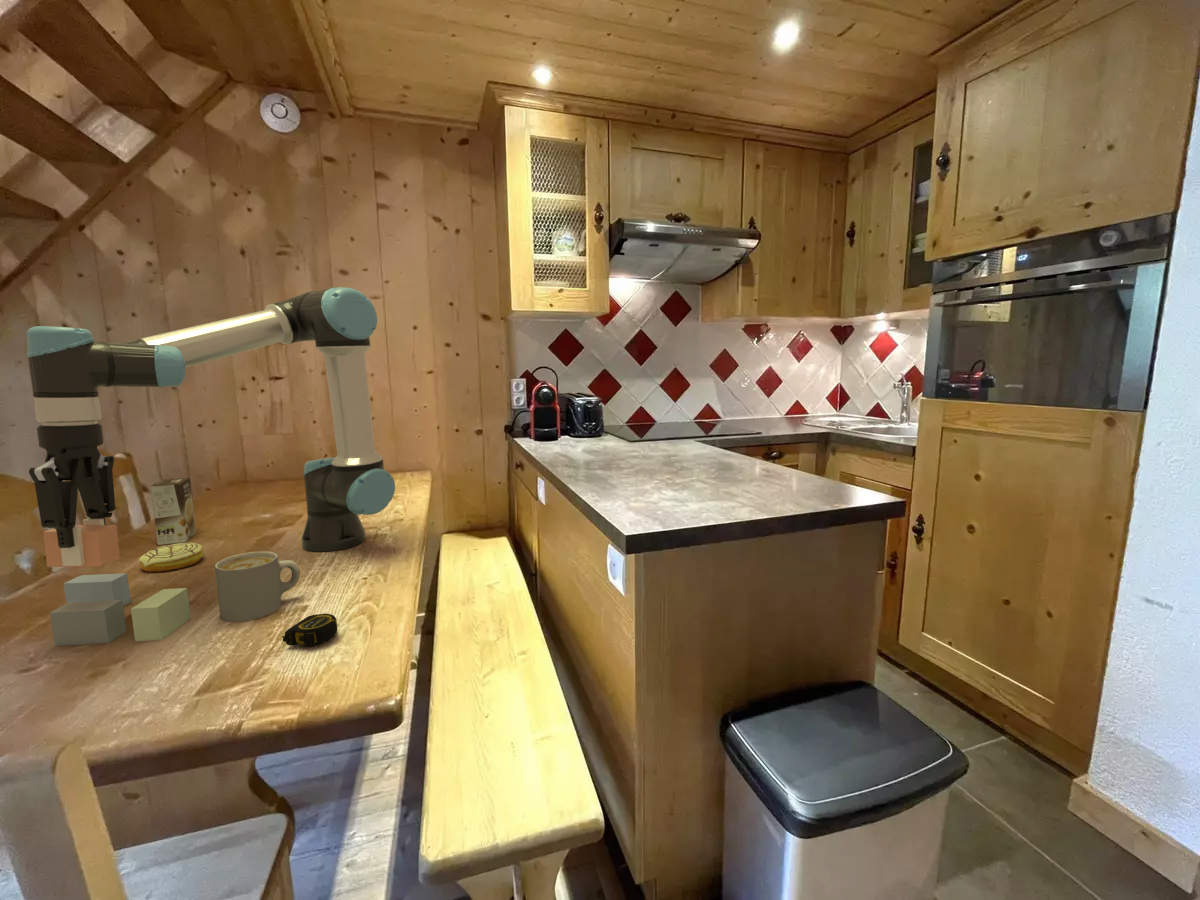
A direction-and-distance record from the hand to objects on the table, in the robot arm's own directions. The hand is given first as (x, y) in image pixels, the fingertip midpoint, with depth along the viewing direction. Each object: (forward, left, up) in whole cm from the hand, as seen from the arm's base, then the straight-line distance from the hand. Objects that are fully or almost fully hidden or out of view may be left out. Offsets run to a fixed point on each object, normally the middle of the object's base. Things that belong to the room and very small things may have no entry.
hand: (86, 559), depth 88 cm
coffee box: (+20, -55, -14) cm, 60 cm away
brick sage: (-10, -1, -14) cm, 17 cm away
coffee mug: (-23, -8, -14) cm, 28 cm away
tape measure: (-38, +7, -14) cm, 41 cm away
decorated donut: (+9, -35, -14) cm, 38 cm away
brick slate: (0, +1, -14) cm, 14 cm away
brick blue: (+8, -12, -14) cm, 20 cm away
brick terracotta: (0, 0, 0) cm, 1 cm away
